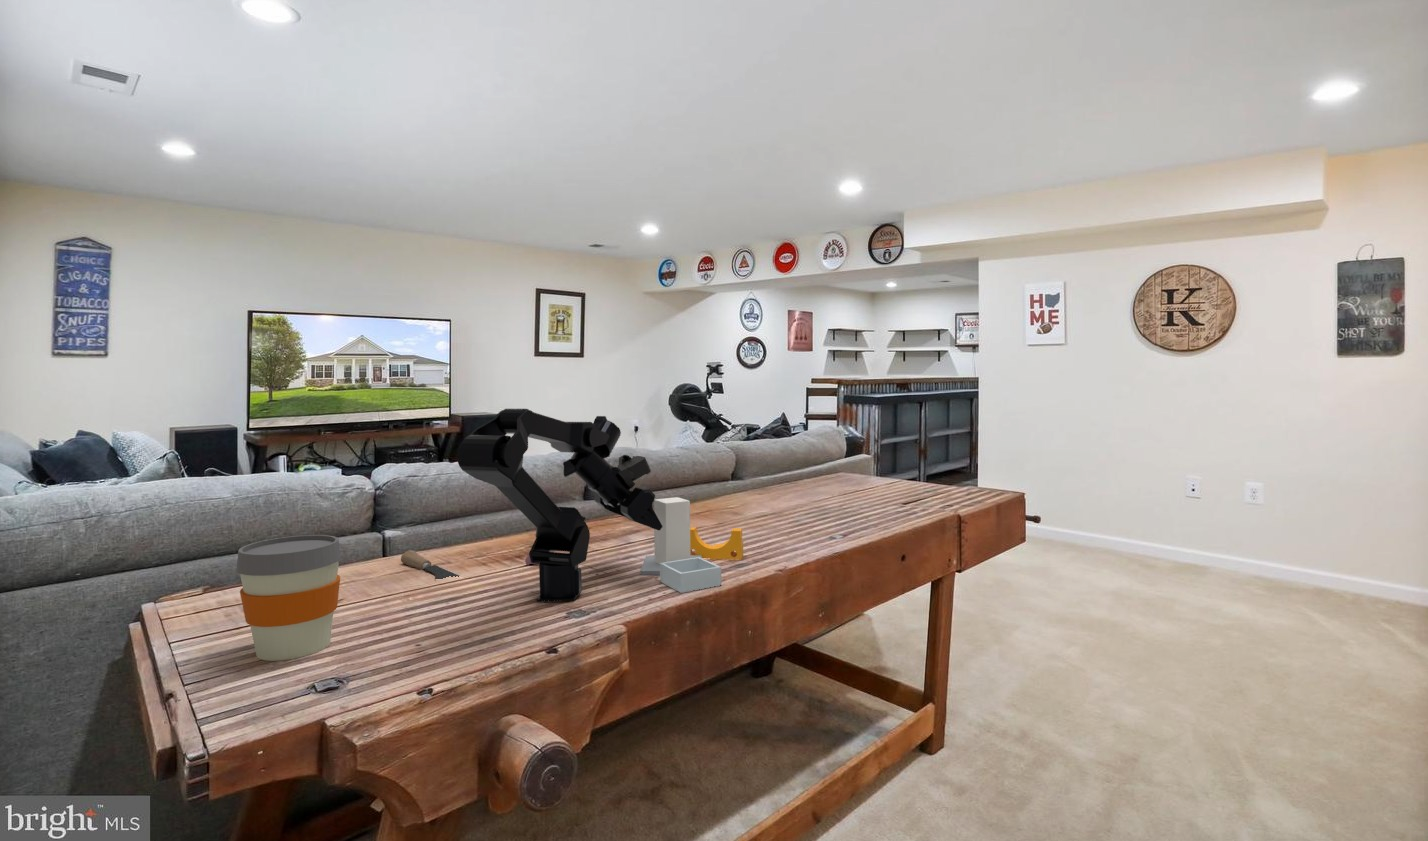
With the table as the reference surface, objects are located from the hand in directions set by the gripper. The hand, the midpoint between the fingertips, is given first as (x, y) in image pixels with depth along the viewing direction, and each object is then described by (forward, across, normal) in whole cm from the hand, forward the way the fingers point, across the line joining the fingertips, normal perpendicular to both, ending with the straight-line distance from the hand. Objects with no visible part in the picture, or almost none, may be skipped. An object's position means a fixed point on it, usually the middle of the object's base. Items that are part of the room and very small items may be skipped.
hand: (650, 524), depth 132 cm
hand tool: (-20, +21, +34) cm, 45 cm away
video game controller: (-5, +20, +18) cm, 27 cm away
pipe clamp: (+18, +2, -5) cm, 19 cm away
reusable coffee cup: (-36, -10, +50) cm, 62 cm away
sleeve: (+8, -12, +5) cm, 16 cm away
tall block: (+9, 0, +3) cm, 10 cm away
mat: (+10, 0, +3) cm, 10 cm away
